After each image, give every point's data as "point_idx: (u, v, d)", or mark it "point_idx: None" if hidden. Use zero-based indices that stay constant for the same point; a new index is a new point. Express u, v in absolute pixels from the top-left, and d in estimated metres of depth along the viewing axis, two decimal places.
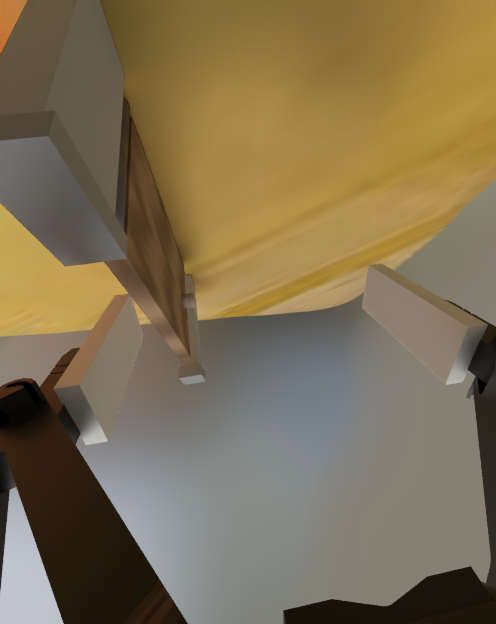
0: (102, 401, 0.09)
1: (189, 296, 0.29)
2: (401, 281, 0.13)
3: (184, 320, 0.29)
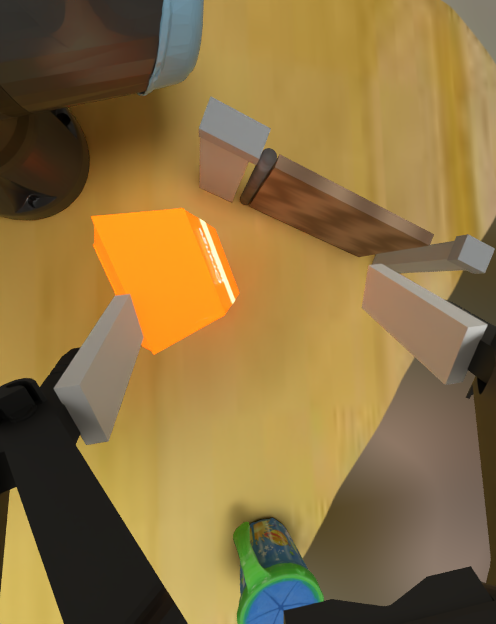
0: (102, 401, 0.09)
1: None
2: (401, 281, 0.13)
3: None
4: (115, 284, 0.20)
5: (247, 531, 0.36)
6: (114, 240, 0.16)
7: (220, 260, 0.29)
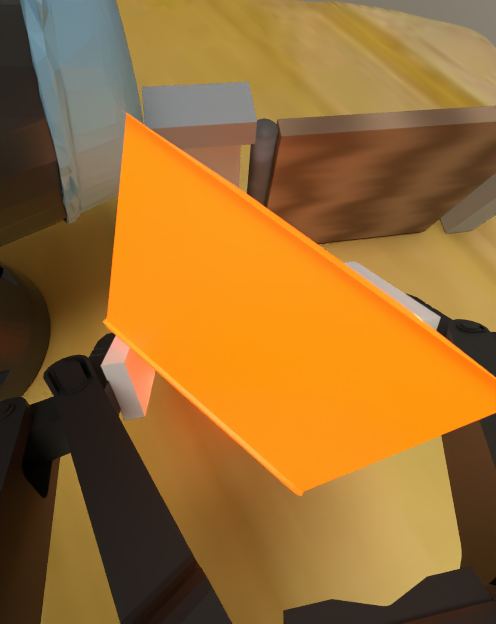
0: (139, 380, 0.10)
1: None
2: (370, 277, 0.14)
3: None
4: (195, 354, 0.08)
5: None
6: (197, 163, 0.06)
7: None
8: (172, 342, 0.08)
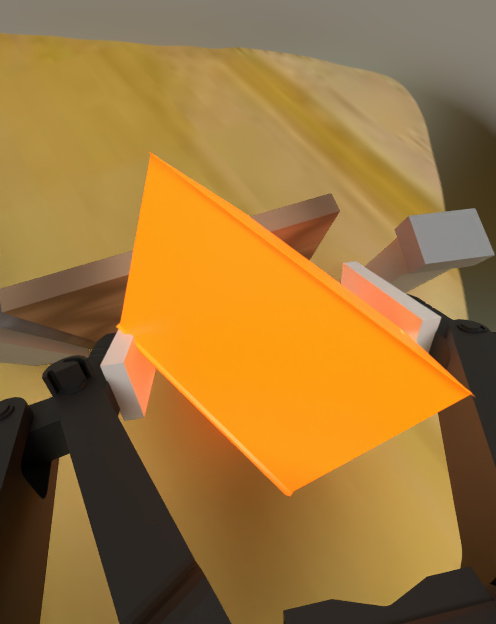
0: (139, 380, 0.10)
1: None
2: (370, 277, 0.14)
3: None
4: (197, 356, 0.09)
5: None
6: (205, 192, 0.07)
7: None
8: (177, 345, 0.09)
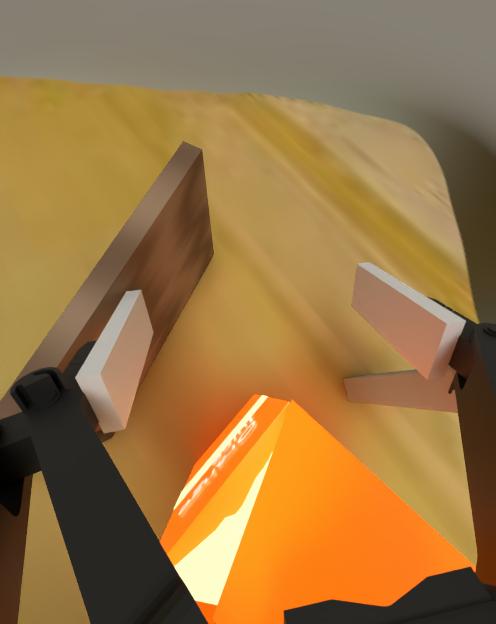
0: (119, 391, 0.10)
1: None
2: (387, 279, 0.13)
3: None
4: None
5: None
6: None
7: None
8: None
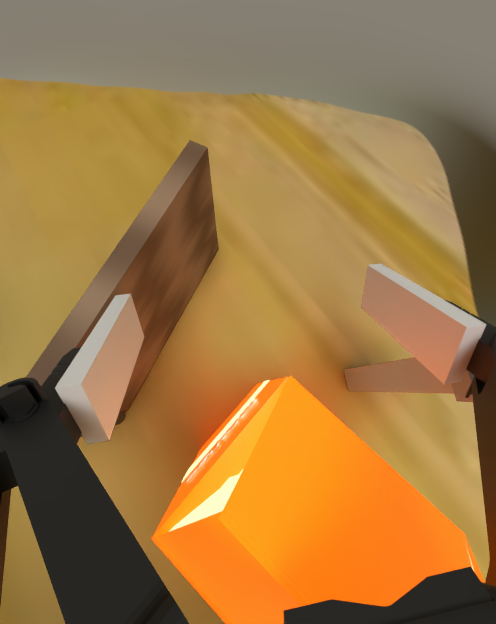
0: (103, 400, 0.09)
1: None
2: (400, 281, 0.13)
3: None
4: None
5: None
6: (287, 544, 0.06)
7: None
8: (227, 603, 0.08)
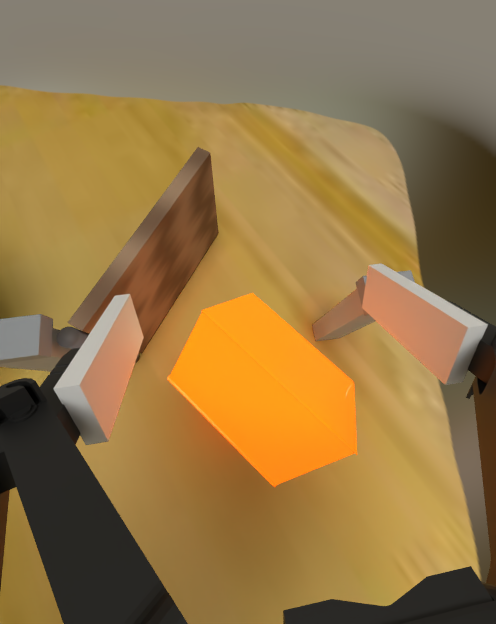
0: (102, 401, 0.09)
1: None
2: (401, 281, 0.13)
3: None
4: (222, 406, 0.14)
5: None
6: (232, 329, 0.12)
7: None
8: (209, 398, 0.15)
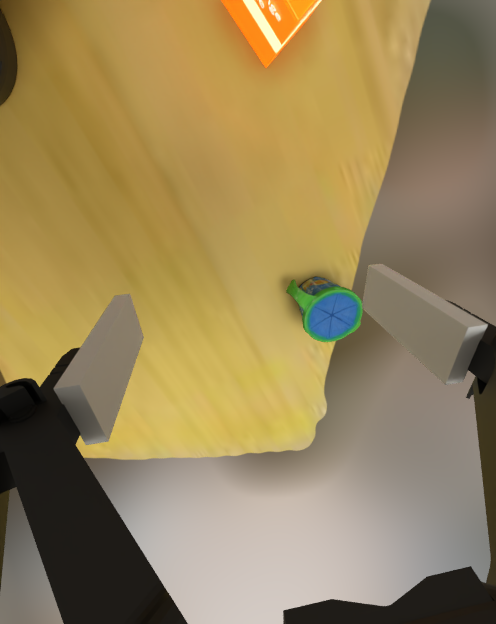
0: (102, 401, 0.09)
1: None
2: (401, 281, 0.13)
3: None
4: None
5: (294, 283, 0.48)
6: None
7: None
8: None
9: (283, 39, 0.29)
